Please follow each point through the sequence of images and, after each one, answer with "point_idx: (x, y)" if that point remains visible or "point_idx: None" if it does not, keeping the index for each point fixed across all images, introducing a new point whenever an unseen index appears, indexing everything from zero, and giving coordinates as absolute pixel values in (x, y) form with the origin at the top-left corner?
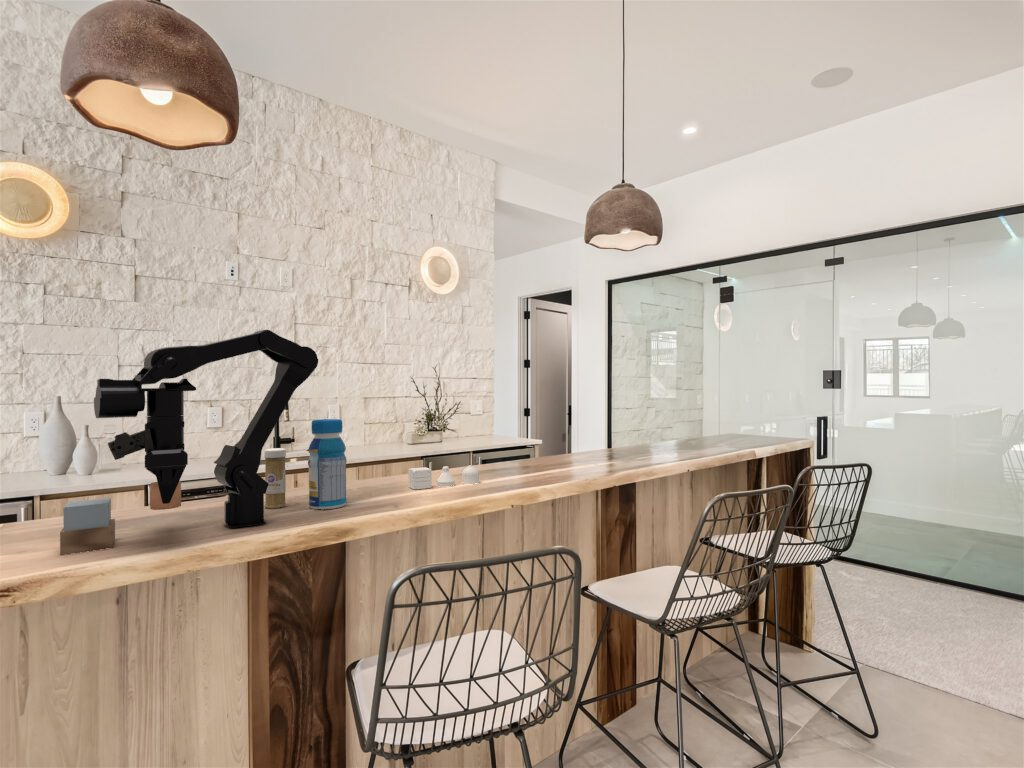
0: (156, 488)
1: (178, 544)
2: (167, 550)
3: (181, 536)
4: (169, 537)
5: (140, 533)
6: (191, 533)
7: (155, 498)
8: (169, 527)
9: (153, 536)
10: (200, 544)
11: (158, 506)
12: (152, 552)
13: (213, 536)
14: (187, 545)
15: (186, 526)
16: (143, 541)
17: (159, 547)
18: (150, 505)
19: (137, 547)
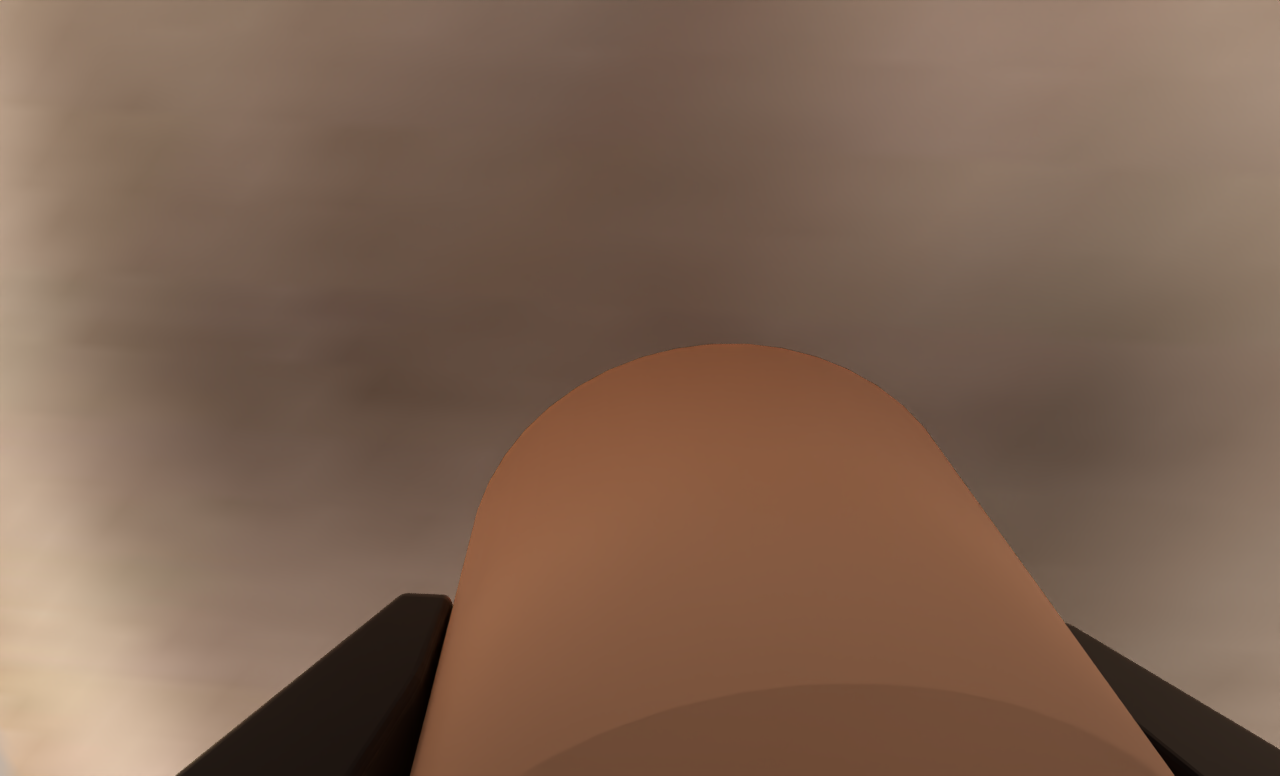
0: (471, 732)
1: (260, 450)
2: (27, 334)
3: None
4: None
5: (1214, 128)
6: None
7: (524, 536)
8: (1259, 443)
9: (892, 254)
10: (127, 619)
11: (490, 492)
12: (12, 190)
13: None
14: (155, 518)
15: (1141, 592)
16: (691, 134)
17: (231, 273)
18: (695, 374)
19: (391, 51)
